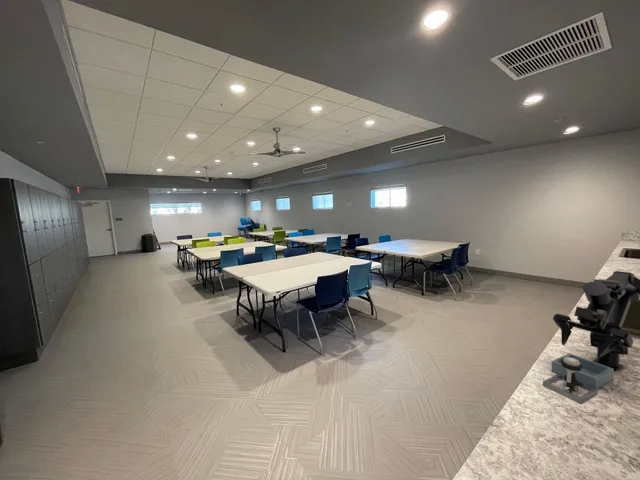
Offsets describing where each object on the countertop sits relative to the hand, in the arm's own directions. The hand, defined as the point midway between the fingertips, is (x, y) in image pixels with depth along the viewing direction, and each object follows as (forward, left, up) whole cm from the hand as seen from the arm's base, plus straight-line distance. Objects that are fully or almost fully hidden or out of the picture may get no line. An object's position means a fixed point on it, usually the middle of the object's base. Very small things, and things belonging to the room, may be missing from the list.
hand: (579, 350), depth 89 cm
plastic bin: (-7, -2, -12) cm, 14 cm away
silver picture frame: (+5, 0, -12) cm, 13 cm away
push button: (+5, 0, -12) cm, 13 cm away
